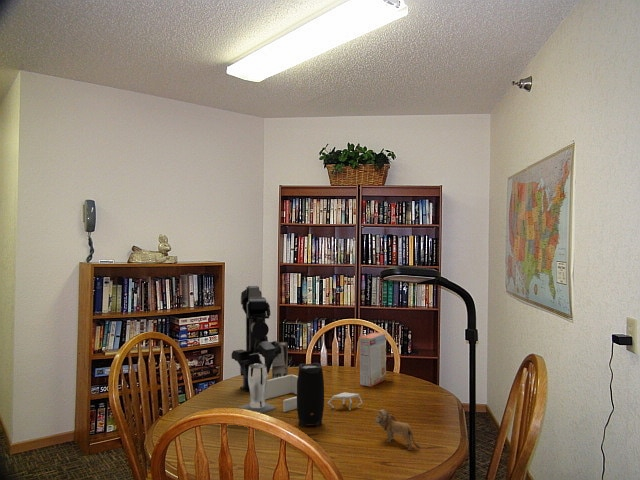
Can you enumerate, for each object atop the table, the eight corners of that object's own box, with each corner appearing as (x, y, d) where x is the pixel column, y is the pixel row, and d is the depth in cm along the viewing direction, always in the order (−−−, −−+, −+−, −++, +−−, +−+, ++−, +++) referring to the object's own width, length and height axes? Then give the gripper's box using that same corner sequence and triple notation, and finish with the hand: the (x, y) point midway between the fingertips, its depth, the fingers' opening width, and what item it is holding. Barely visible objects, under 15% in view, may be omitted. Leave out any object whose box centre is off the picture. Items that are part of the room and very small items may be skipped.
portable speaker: (320, 429, 154) (320, 369, 154) (292, 426, 157) (293, 367, 157) (327, 420, 162) (327, 363, 162) (301, 417, 165) (301, 361, 165)
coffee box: (286, 383, 206) (286, 345, 207) (271, 383, 206) (271, 345, 207) (288, 377, 216) (288, 341, 216) (273, 377, 216) (274, 341, 216)
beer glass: (263, 410, 170) (263, 368, 170) (245, 409, 171) (245, 367, 172) (269, 404, 177) (269, 364, 177) (251, 403, 178) (251, 363, 179)
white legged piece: (350, 402, 182) (350, 389, 182) (363, 408, 175) (363, 395, 175) (323, 407, 176) (323, 393, 176) (335, 414, 169) (335, 400, 169)
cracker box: (374, 377, 215) (374, 331, 215) (386, 380, 212) (386, 333, 212) (358, 385, 204) (358, 336, 204) (370, 387, 200) (370, 338, 200)
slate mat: (237, 408, 174) (237, 406, 174) (260, 402, 181) (260, 401, 181) (253, 415, 167) (253, 414, 167) (276, 409, 173) (276, 407, 173)
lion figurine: (372, 440, 146) (372, 410, 146) (381, 434, 150) (381, 406, 150) (416, 452, 137) (416, 421, 137) (424, 446, 141) (424, 416, 141)
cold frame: (257, 400, 183) (257, 382, 183) (291, 391, 194) (292, 374, 195) (284, 411, 170) (284, 392, 171) (319, 401, 182) (319, 383, 182)
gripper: (248, 339, 162) (247, 385, 162) (290, 333, 174) (290, 375, 174) (230, 335, 170) (230, 378, 170) (272, 329, 183) (272, 369, 183)
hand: (257, 375), depth 174 cm, fingers open, 9 cm apart
